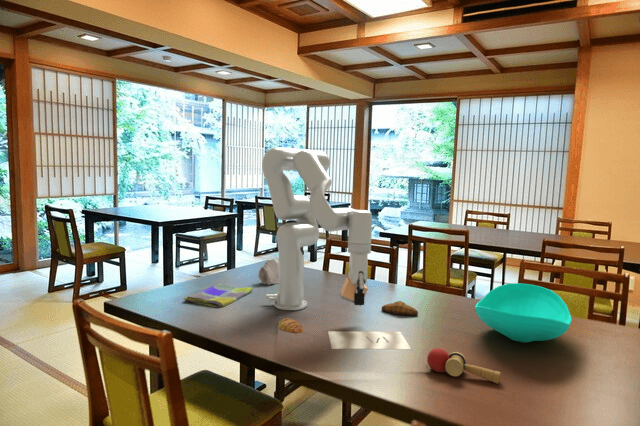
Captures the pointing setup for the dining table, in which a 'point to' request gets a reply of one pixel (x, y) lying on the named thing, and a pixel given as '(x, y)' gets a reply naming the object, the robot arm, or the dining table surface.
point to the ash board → (367, 340)
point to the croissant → (400, 309)
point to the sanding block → (349, 290)
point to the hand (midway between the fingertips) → (357, 301)
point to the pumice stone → (269, 272)
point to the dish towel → (219, 295)
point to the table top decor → (524, 312)
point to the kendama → (458, 365)
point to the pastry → (290, 326)
